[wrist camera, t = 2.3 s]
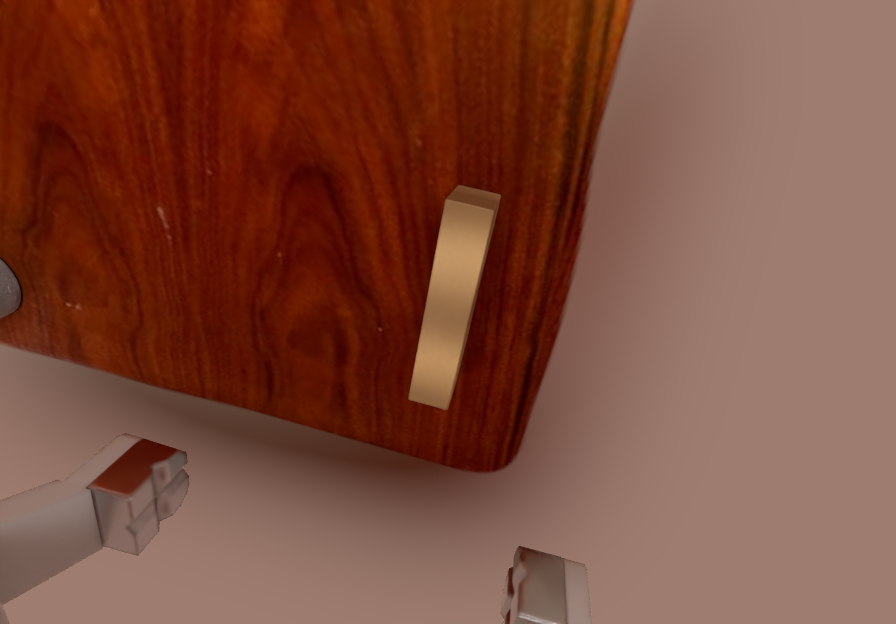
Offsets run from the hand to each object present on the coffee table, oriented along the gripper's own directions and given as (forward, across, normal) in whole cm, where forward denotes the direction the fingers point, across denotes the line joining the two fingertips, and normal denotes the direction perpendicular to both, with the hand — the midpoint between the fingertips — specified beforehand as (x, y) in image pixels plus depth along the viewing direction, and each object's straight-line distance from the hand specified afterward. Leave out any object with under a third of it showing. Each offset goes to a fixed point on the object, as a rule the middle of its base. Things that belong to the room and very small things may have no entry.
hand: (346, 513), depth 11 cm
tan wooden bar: (+14, 0, 0) cm, 14 cm away
